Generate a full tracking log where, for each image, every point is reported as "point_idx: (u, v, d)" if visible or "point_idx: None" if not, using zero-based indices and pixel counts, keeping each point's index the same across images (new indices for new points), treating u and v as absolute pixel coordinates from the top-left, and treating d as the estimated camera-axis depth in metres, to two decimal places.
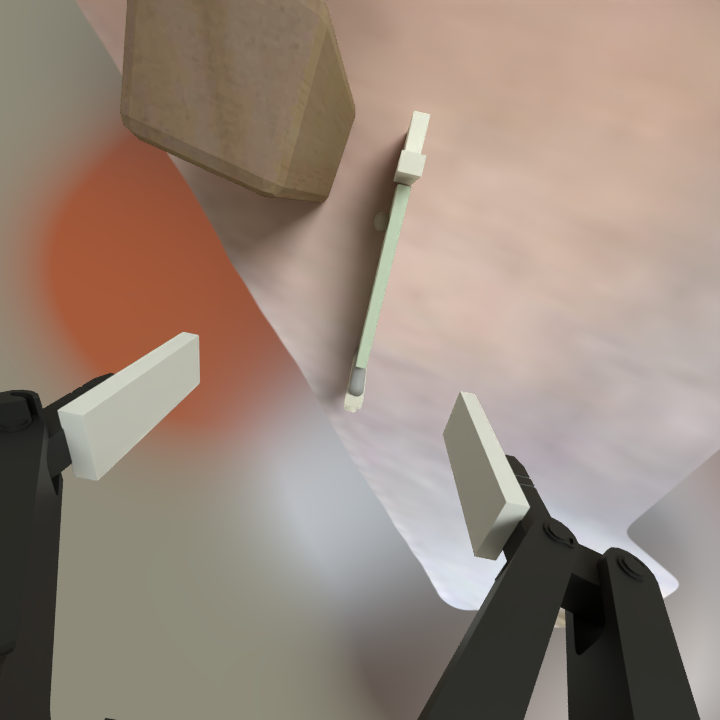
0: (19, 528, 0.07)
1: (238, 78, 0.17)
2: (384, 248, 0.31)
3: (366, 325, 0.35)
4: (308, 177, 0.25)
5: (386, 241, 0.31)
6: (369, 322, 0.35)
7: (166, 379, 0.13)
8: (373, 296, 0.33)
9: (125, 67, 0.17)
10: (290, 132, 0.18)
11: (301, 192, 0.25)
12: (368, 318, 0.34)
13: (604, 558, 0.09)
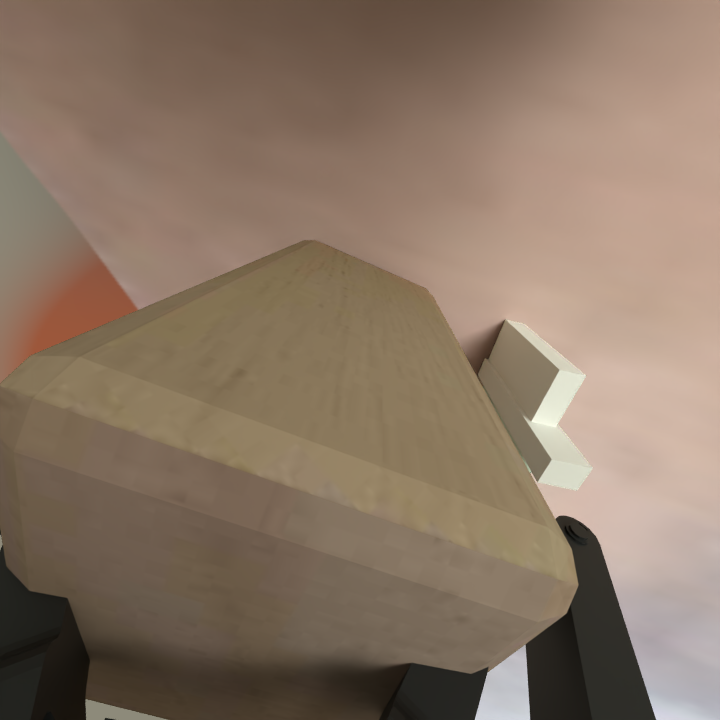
0: None
1: (312, 681, 0.06)
2: None
3: None
4: None
5: None
6: None
7: None
8: None
9: None
10: None
11: None
12: None
13: None
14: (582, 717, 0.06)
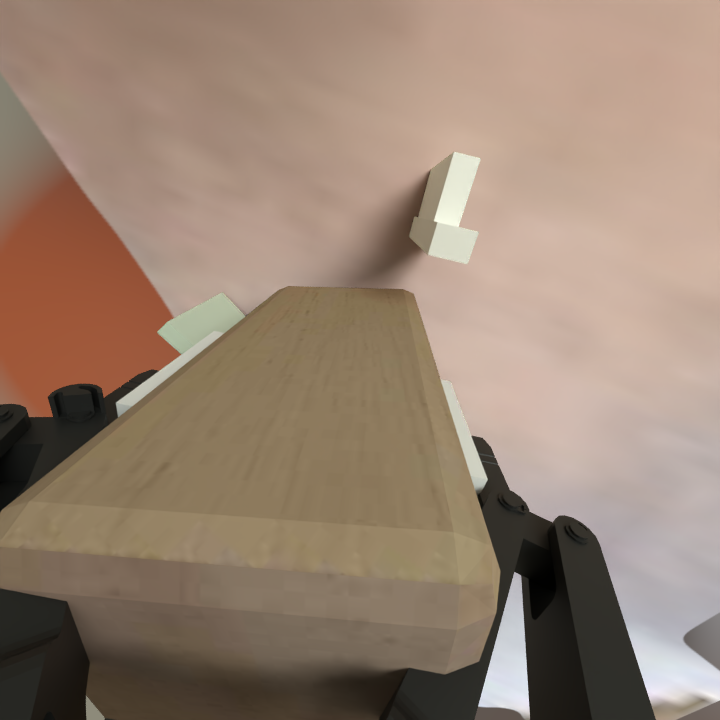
0: None
1: (317, 715, 0.07)
2: None
3: None
4: None
5: None
6: None
7: None
8: None
9: None
10: None
11: None
12: None
13: (553, 527, 0.10)
14: (581, 717, 0.06)
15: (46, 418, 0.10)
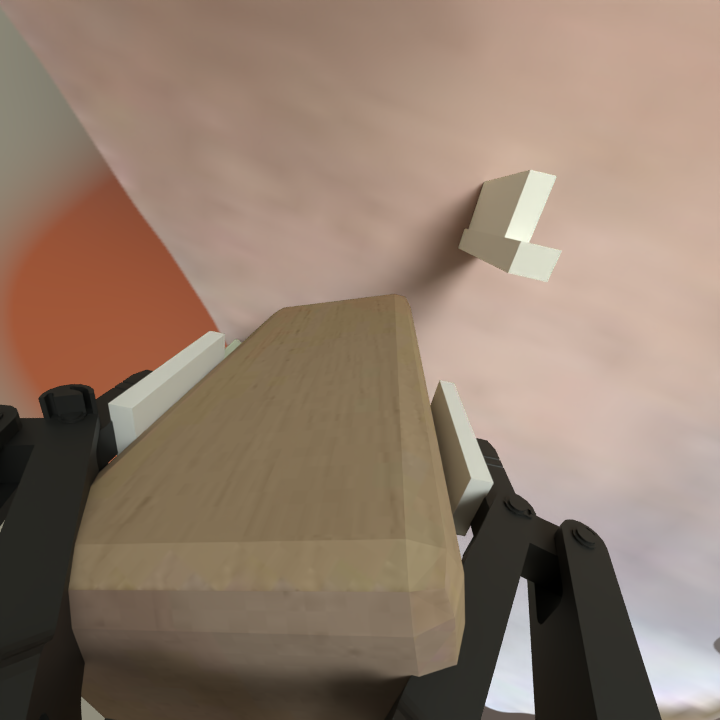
0: (67, 516, 0.07)
1: None
2: None
3: None
4: None
5: None
6: None
7: (197, 376, 0.14)
8: None
9: None
10: None
11: None
12: None
13: (560, 531, 0.09)
14: None
15: (37, 419, 0.10)
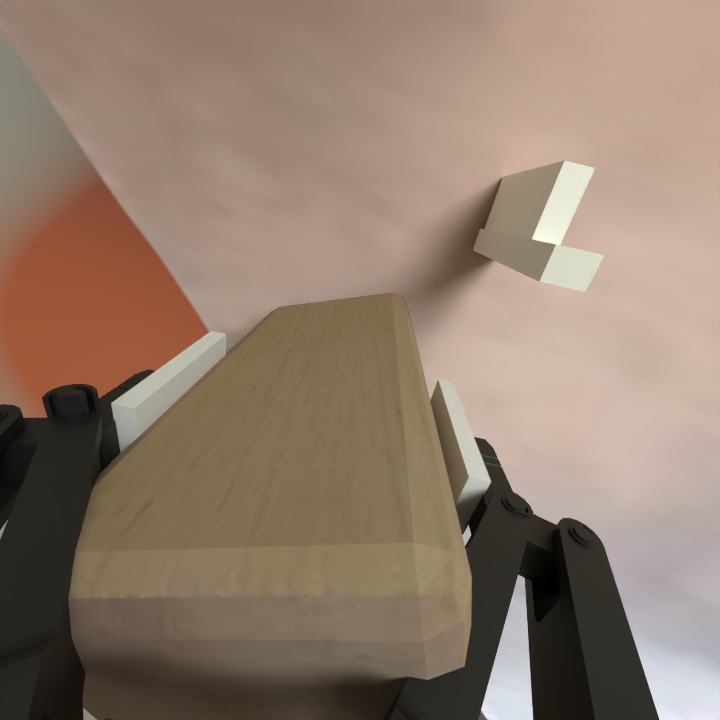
0: (70, 516, 0.07)
1: None
2: None
3: None
4: None
5: None
6: None
7: (199, 375, 0.14)
8: None
9: None
10: None
11: None
12: None
13: (557, 529, 0.09)
14: None
15: (41, 419, 0.10)
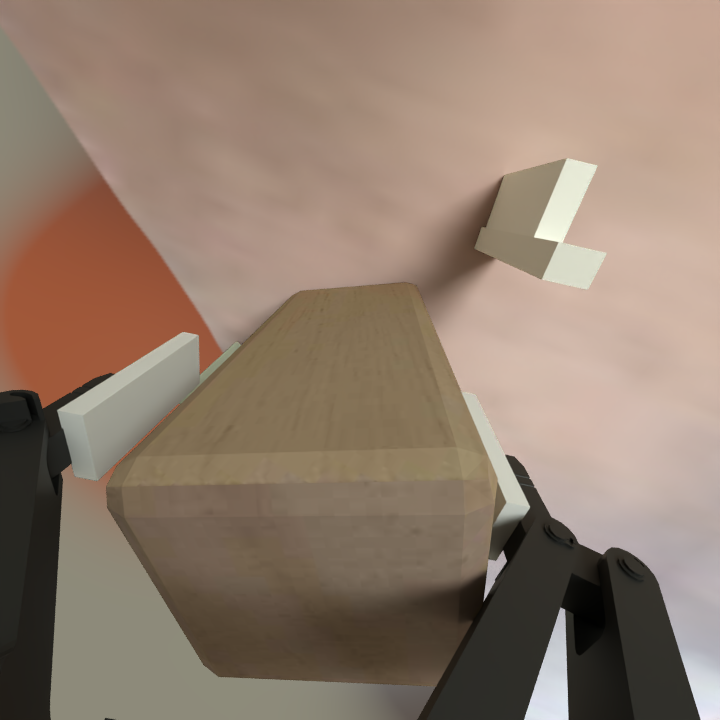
0: (19, 528, 0.07)
1: (366, 616, 0.09)
2: None
3: None
4: None
5: None
6: None
7: (166, 379, 0.13)
8: None
9: (187, 634, 0.10)
10: None
11: None
12: None
13: (604, 558, 0.09)
14: None
15: None
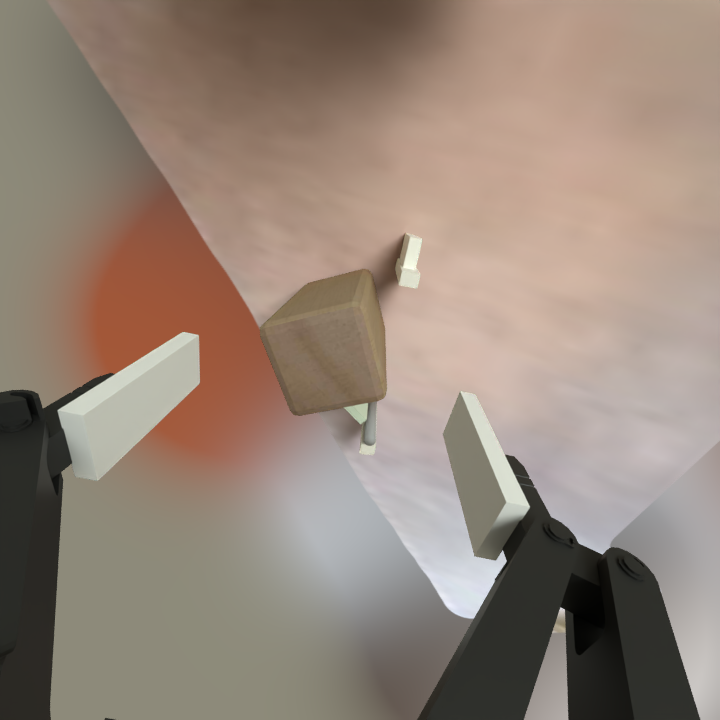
0: (19, 528, 0.07)
1: (339, 364, 0.29)
2: None
3: None
4: (383, 355, 0.35)
5: None
6: None
7: (166, 379, 0.13)
8: None
9: (284, 392, 0.31)
10: (377, 366, 0.29)
11: None
12: None
13: (604, 558, 0.09)
14: None
15: None
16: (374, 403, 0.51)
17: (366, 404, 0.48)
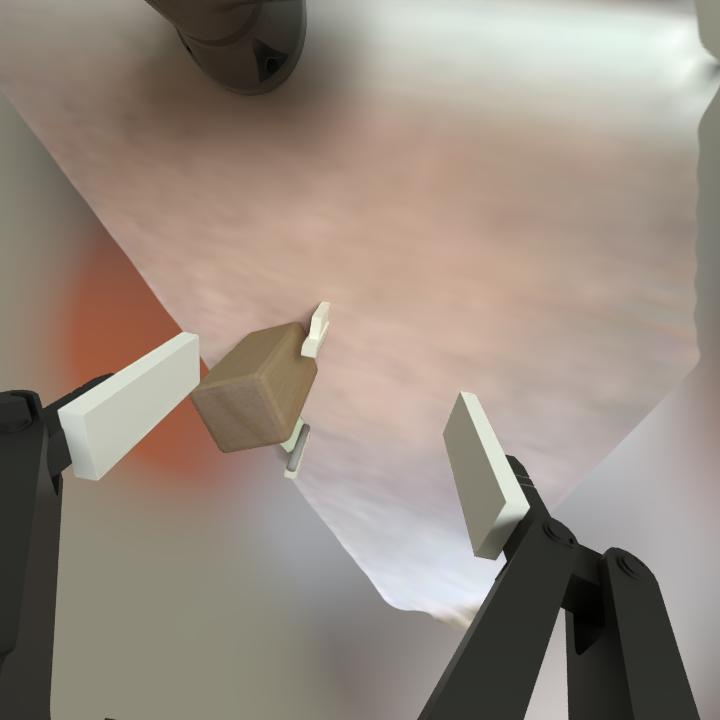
0: (19, 528, 0.07)
1: (249, 417, 0.38)
2: None
3: None
4: (298, 401, 0.45)
5: None
6: None
7: (166, 379, 0.13)
8: None
9: (212, 436, 0.40)
10: (279, 418, 0.38)
11: (300, 410, 0.45)
12: None
13: (604, 558, 0.09)
14: None
15: None
16: (305, 433, 0.61)
17: (297, 434, 0.58)
